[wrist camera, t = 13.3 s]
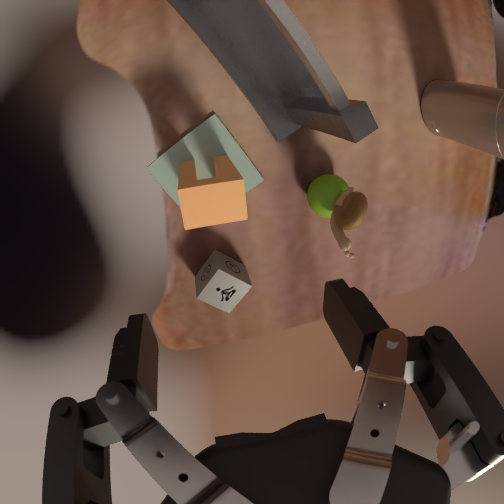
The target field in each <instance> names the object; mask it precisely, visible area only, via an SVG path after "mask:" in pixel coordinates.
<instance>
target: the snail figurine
mask: <svg viewBox="0 0 504 504" xmlns="http://www.w3.org/2000/svg"><path fill="white" fill-rule="evenodd" d="M307 197H308V202H309V205H310V207H311V208H312V210H313V211H314V212H315V213H317V214H318V215H320V216H322V217H326V218H330V224H331V229H332V232H333V234H334V237H335V239H336V240H337V242H338V244H339V247H340V249H341V250H342V251H344V252H345V251H346V252H345V255H346V256H349V257H351V258H354V254H353V253H349V252H348V249H349V248H350V247H351V241H350V239H349V238H347V237H346V236H345V234H344V232H343V230H351V229H354V228H356V227H357V226H358V225H359V224H360V223H361V222H362V221H363V219H364V217H365V215H366V212H367V207H368V204H367V199H366V197H365V195H364V194H363V193H361V192H358V191H356V192H353V187H348V185H347V183H346V182H345V181H344V180H343V179H342V178H340V177H338V176H336V175H333V174H324V175H321V176H319V177H317V178H316V179H314V180H313V181H312V183H311V184H310V186H309V189H308V193H307ZM342 229H343V230H342Z"/></svg>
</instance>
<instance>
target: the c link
mask: <svg viewBox="0 0 504 504" xmlns="http://www.w3.org/2000/svg"><path fill="white" fill-rule="evenodd" d="M214 165H215V172H216V177H211V178H205V179H199V180H197V173H196V166H195V160H190V161H184V162H181V164H180V172H179V180H178V189H177V190H178V196H179V201H180V207H181V212H182V217H183V222H184V227H185V230H188V229H194V228H199V227H205V226H211V225H217V224H223V223H229V222H235V221H241V220H247V219H248V218H247V208H246V198H245V187H244V179H243V177H242V176H241V174H240V173H239V171H238V170H237V168H236V167H235V165H234V164H233V162H232V161H231V160H230V158H229V157H228V155H222V156H215V157H214Z"/></svg>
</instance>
